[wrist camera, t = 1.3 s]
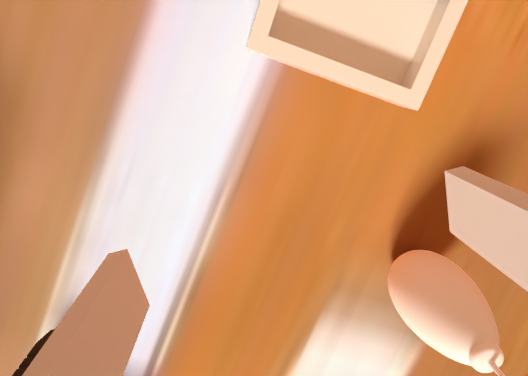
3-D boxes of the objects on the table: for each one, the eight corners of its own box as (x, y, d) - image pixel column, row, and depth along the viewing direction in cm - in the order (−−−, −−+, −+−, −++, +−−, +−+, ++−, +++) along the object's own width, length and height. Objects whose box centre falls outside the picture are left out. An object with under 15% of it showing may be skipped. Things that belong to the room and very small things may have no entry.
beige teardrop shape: (417, 221, 42) (538, 325, 25) (450, 267, 44) (583, 391, 27) (361, 261, 43) (441, 387, 26) (396, 304, 45) (491, 446, 28)
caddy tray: (245, 49, 35) (246, 47, 32) (292, -103, 32) (298, -123, 29) (402, 107, 38) (418, 110, 35) (461, -28, 34) (485, -38, 31)
